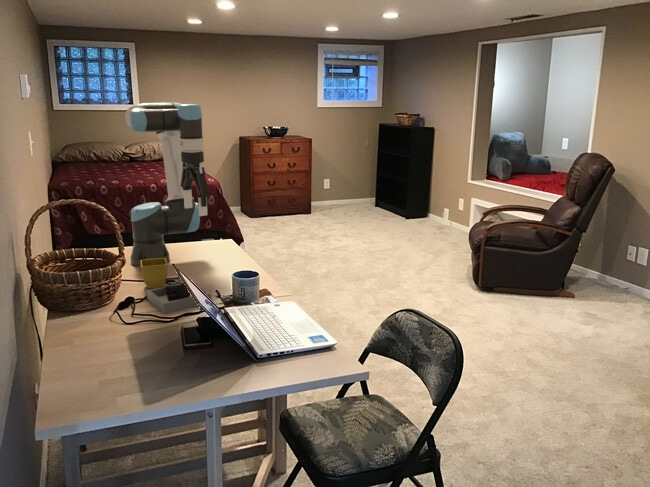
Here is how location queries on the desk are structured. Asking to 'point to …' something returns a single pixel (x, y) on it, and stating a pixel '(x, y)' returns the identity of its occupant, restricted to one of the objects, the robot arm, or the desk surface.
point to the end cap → (176, 289)
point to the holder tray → (161, 301)
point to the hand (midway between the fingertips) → (195, 211)
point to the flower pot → (154, 272)
